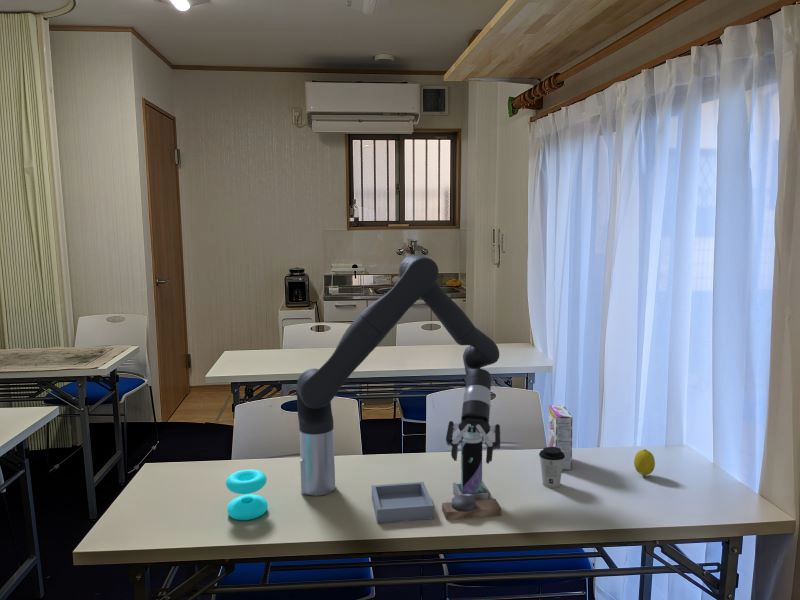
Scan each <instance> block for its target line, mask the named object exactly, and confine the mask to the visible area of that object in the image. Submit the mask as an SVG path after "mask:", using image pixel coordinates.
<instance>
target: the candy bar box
mask: <svg viewBox="0 0 800 600" xmlns="http://www.w3.org/2000/svg"><path fill="white" fill-rule="evenodd" d="M573 418H574V417H573V416H572V414H571V413H570V412H569V410H568V409H567V408H566V406H565V405H563V404H561V405H560V404H559V405H557V404H552V405H549V404H548V421H547V422H548V425H547V426H548V430H547V431H548V435H547V437H548V444H547V445H548V446H547V447H557V448H560V449H561V451H562V452H563V453H564V455H565V458H564V461H563V467H562V471H571V470H572V467H573V466H572V463H573V462H572V461H573V457H572V456H573Z"/></svg>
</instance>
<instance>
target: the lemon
mask: <svg viewBox="0 0 800 600" xmlns="http://www.w3.org/2000/svg"><path fill="white" fill-rule="evenodd" d="M633 466H634V468H635V470H636V472H638V474H640V475H641V476H642V475H644V476H643V477H646V476H647V475H650V474H651V473H653V472H654V470H655V467H656V460H655V457H654V455H653V453H652V452H651V451H649V450H647V449H646V448H644V449H642V450H639V451H638V452H637V453H635V455H634V460H633ZM645 475H646V476H645Z"/></svg>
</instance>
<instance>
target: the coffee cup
mask: <svg viewBox="0 0 800 600" xmlns="http://www.w3.org/2000/svg"><path fill="white" fill-rule="evenodd" d="M538 455H539V461H540V470H541V471H540V472H541V477H542V478H541V480H542V486H544V487H545V488H550V489H556V488H559V487H560V486H561V479H562V472H563V470H562V467H563V461H564V458H565V455H564V453H563V452H562V451H561V449H560V448H557V447H548V446H547V447H543V449H541V450H540V451H539V454H538Z"/></svg>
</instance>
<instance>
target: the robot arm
mask: <svg viewBox="0 0 800 600" xmlns="http://www.w3.org/2000/svg"><path fill="white" fill-rule="evenodd" d="M398 272H399V273H398V275H399V277H400V278H399V279H398V281H397V282H396V283H395V284H394V285H393V287H392V288H391V289H390V290H388V291H387V293H385V294H384V295H383V296H381V297H379V298H378V299H377V300H375V301H374V302H371V304H369V305H368V306H367V307H366V308H365V309H364V310H362V312H361V313H359V315H357V316H356V318H355V319H354V320H353V321H352V322H351V323H350V325H349V326H348V327H347V329H346V330H345V332H344V334H343V335H342V336H341V338H340V340H339V342H338V344H337V346H336V348H335V349H334V352H333V353H332V354H331V356H330V357H329V358H328V359H327V360H326V361H325V363H323V364H322V365H321V366H320V368H310V369H307V370H305V371H303V372H302V373H301V374H300V375H299V377H298V379H297V383H296V404H297V405H296V406H297V418H298V427H299V448H300V449H299V453H300V454H299V455H300V456H299V463H300V489H301V490H300V491H301V492H300V493H301V495H308V496H315V497H316V496H317V497H318V496H324V495H328V494H330V493H332V492H333V491H335V489H336V471H335V470H336V469H335V468H336V467H335V438H334V437H335V435H334V433H335V432H334V428H335V427H334V426H335V425H334V416H333V411H332V401H333V400H334V398H335V397H336V395H337V394H338V392H339V391H340V390H341V388H342V386H344V384H345V382H346V381H347V379H349V377H350V376H351V375H352V373H354V371H356V369H357V368H358V367H359V366H360V365H361V364H362V363H363V362H364V360H366V358H367V357H368V356H369V355H370V354H371V353H372V352H373V351H374V350H375V349H376V348H377V347H378V346H379V344H381V342H382V341H383V340H384V339H385V338H386V337H387V335H388V334H389V333H390V331H391V330H392V329H393V328H395V326H396V324H398V323H399V321H400V320H401V319H402V318H403V316H404V315H405V314H406V313H407V311H408V310H410V308H411V307H412V306H413V305H414V304H415V303H416V302H417V301H419V300H420V299H421V300H422V301H423V302H424V303H425V304H426V306H427V307H429V309H430V310H431V311H432V313H433V314H434V315H435V317H436V319H438V320H439V322H440V323H441V325H442V326H443V327H444V329H445V330H446V331H447V332H448V335H450V336H451V338H452V339H453V340H454V342H456V344H457V345H459V346H467V347H466V348H465V349H464V351H463V355H462V359H463V360H462V361H463V366H464V371H465V376H466V380H465V387H464V394H463V397H462V398H463V399H462V406H461V407H462V408H461V409H462V410H461V418H460V419H461V420H460V422H459V423H456V422H454V421H452V420H450V421H448V426H447V431H446V436H445V441H446V445H447V446H451V452H450V456H451V458H452V459H453V461H454V462H457V461H458V453H459V446H461V437H462V434H463V433H465V432H466V431H467V430H468V429H469V426H475V429H476V430H477V432H478V433H480V434H481V435H482V443H483V444H484V445H485V446H486V455H485V457H486V459H485V462H486V464H490V462H492V461H493V456H494V455H493V452H494V450H499V449H501V426H500V424H498V423H497V424H495V425H490V413H491V412H490V411H491V410H490V409H491V406H492V405H491V397H492V396H491V391H492V390H491V387H492V375H491V373H490V372H489V371H488V370H486V369H484V368H483V367H487V366H490V365H493V364H496V363H497V362H498V360H499V359H500V350H499V347H498V345H497V343H495V341H494V340H493V339H491V337H489V336H488V335H486V334H485V333H484V332H483V331H481V330H480V329H478V327H476V326H475V324H473V322H472V320H471V319H470V318H469V316H468V315H467V314H466V313H465V312H464V310H463V309H462V308H461V307H460V306H459V305H458V304H457V303H455V301H454V300H453V299H452V298H450V296H449V295H448V294H446V292H445V291H444V290H443V288H442V287H441V286H440V285H439V284H438V282H437V281H438V277H439V266H438V265H437V263H436V261H434V260H433V259H432V258H429V257H426V256H422V255H419V254H418V255H417V254H415V255H413V254H412V255H409V256H407V257H405V258H404V259H402V261H401V262H400V264H399V268H398ZM458 429H459V431H460V432H459V433H458V434H457V436H456V437H454V439H453V436H454V433H455V432H456V431H457V430H458ZM491 431H492V434H493V435H494V442H492V441H491V440H490V438H489V436H488V434H489V433H490V432H491Z"/></svg>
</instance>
